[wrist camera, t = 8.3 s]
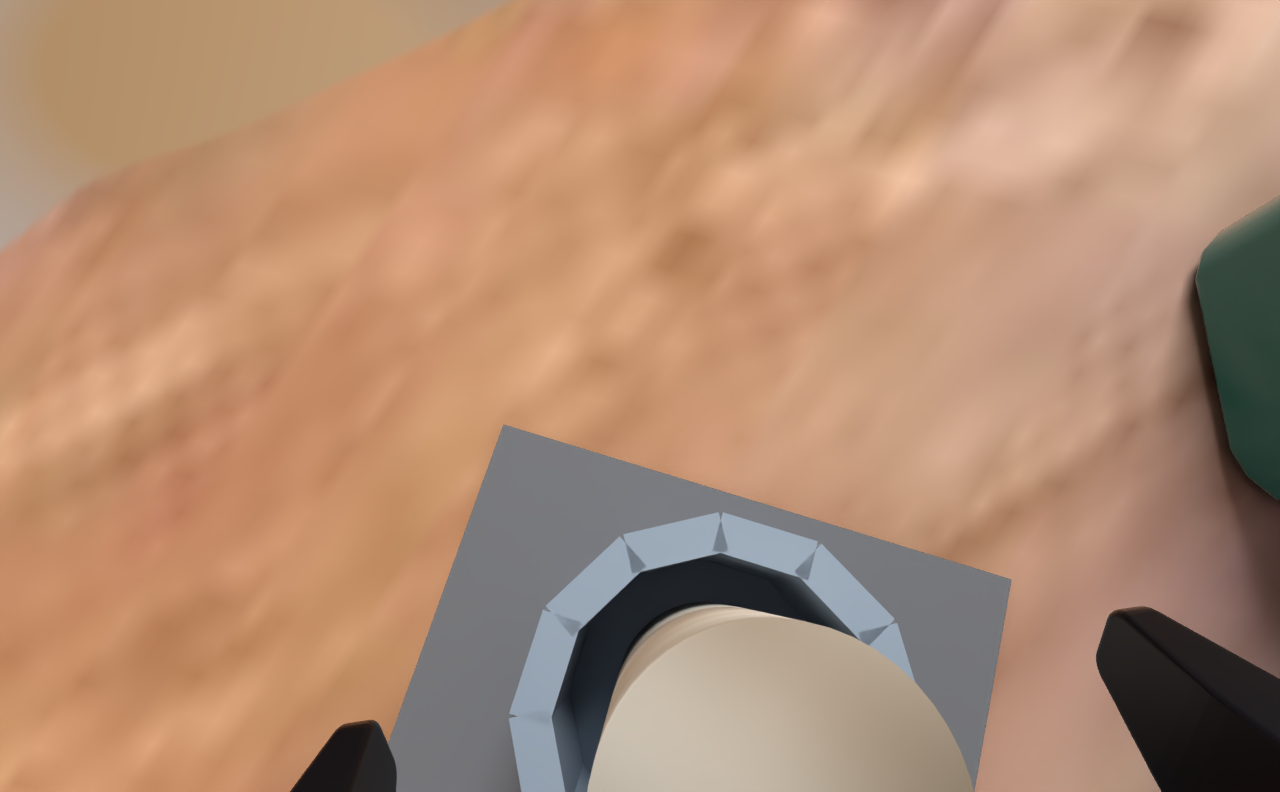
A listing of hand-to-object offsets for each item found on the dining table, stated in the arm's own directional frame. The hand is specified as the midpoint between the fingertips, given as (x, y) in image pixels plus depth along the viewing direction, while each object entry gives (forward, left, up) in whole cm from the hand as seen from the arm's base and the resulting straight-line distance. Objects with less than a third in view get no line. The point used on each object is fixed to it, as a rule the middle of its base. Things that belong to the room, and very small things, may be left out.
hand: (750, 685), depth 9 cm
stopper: (-1, -1, -10) cm, 10 cm away
